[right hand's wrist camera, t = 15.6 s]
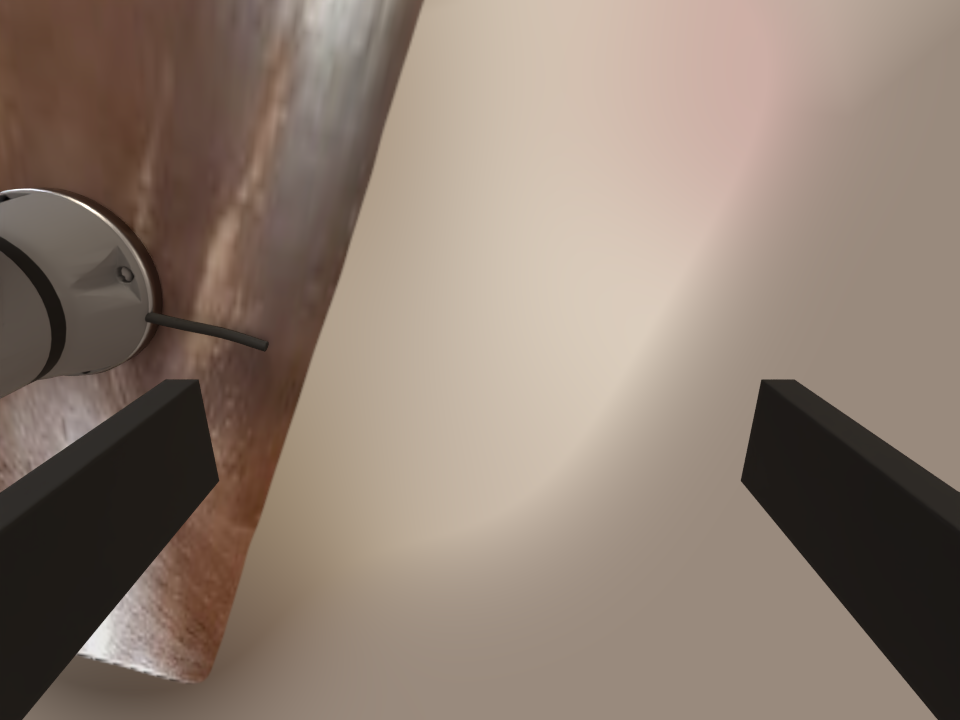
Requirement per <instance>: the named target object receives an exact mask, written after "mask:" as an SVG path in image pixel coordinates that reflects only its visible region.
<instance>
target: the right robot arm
mask: <svg viewBox="0 0 960 720" xmlns="http://www.w3.org/2000/svg"><path fill="white" fill-rule="evenodd" d="M161 312H162V291H161V285H160V281H159V277H158V274H157V271H156V268H155V266H154V263H153V261H152V259H151V257H150V255H149V253H148V252H147V250H146V248H145V247H144V245H143V244H142V242H141V241H140V240H139V238H138V237H137V236H136V235H135V233H134V232H133V231H132V230H131V229H130V228H129V227H128V226H127V225H126V224H125V223H124V222H123V221H122V220H121V219H120V218H119V217H117V216H116V215H115V214H113V213H112V212H111V211H109V210H108V209H106V208H105V207H103V206H102V205H100V204H98V203H97V202H95V201H93V200H91V199H89V198H86V197H84V196H82V195H79V194H76V193H73V192H69V191H65V190H60V189H54V188H28V189H13V190H7V191H3V192H0V398H2V397H4V396H6V395H8V394H10V393H12V392H14V391H16V390H18V389H20V388H22V387H24V386H26V385H28V384H30V383H32V382H34V381H36V380H41V379H48V378H53V377H57V376H80V375H91V374H97V373H101V372H104V371H107V370H110V369H112V368H114V367H116V366H118V365H120V364H122V363H124V362H125V361H127V360H129V359H131V358H132V357H134V356H136V355H137V354H138V353H139V352H141V351H142V350H143V349H144V348H145V347H146V346H147V345H148V343H149V342H150V341H151V339H152V338H153V336H154V334H155V332H156V330H157V328H158V325H162V326H167V327H171V328H176V329H180V330H185V331H190V332H195V333H200V334H205V335H210V336H215V337H219V338H223V339H227V340H230V341H234V342H237V343H240V344H243V345H246V346H249V347H252V348H255V349H258V350H262V351H266V350H267V348H268V342H267V341H264V340H261V339H258V338H255V337H252V336H249V335H246V334H242V333H239V332H236V331H232V330H229V329H225V328H221V327H217V326H213V325H208V324H203V323H198V322H193V321H188V320H184V319H179V318H175V317H170V316H166V315H162V314H161ZM218 482H219V477H218V473H217V468H216V463H215V458H214V453H213V448H212V443H211V438H210V433H209V429H208V424H207V419H206V414H205V409H204V404H203V399H202V394H201V389H200V384H199V380H164V381H163V382H161V383H160V384H158V385H157V386H156V387H154V388H153V389H151V390H150V391H148V392H147V393H145V394H144V395H142V396H141V397H139V398H138V399H137V400H135V401H134V402H132V403H131V404H129V405H128V406H126V407H125V408H123V409H122V410H120V411H119V412H118V413H116V414H115V415H113V416H112V417H110V418H109V419H107V420H106V421H104V422H103V423H101V424H100V425H99V426H97V427H96V428H94V429H93V430H91V431H90V432H88V433H87V434H85V435H84V436H82V437H81V438H80V439H78V440H77V441H75V442H74V443H72V444H71V445H69V446H68V447H66V448H65V449H63V450H62V451H61V452H59V453H58V454H56V455H55V456H53V457H52V458H50V459H49V460H47V461H46V462H44V463H43V464H42V465H40V466H39V467H37V468H36V469H34V470H33V471H31V472H30V473H28V474H27V475H26V476H24V477H23V478H21V479H20V480H18V481H17V482H15V483H14V484H12V485H11V486H9V487H8V488H7V489H5V490H4V491H2V492H1V493H0V720H22V719H23V718H24V717H25V716H26V714H27V713H28V712H29V711H30V710H31V708H32V707H33V706H34V705H35V703H36V702H37V701H38V700H39V699H40V697H41V696H42V695H43V694H44V693H45V691H46V690H47V689H48V688H49V687H50V685H51V684H52V683H53V682H54V681H55V679H56V678H57V677H58V676H59V674H60V673H61V672H62V671H63V670H64V668H65V667H66V666H67V665H68V664H69V662H70V661H71V660H72V659H73V657H74V656H75V655H76V654H77V653H78V651H79V650H80V649H81V648H82V647H83V645H84V644H85V643H86V642H87V640H88V639H89V638H90V637H91V636H92V634H93V633H94V632H95V631H96V630H97V628H98V627H99V626H100V625H101V624H102V622H103V621H104V620H105V619H106V617H107V616H108V615H109V614H110V613H111V611H112V610H113V609H114V608H115V607H116V605H117V604H118V603H119V602H120V600H121V599H122V598H123V597H124V596H125V594H126V593H127V592H128V591H129V590H130V588H131V587H132V586H133V585H134V583H135V582H136V581H137V580H138V579H139V577H140V576H141V575H142V574H143V573H144V571H145V570H146V569H147V568H148V567H149V565H150V564H151V563H152V562H153V560H154V559H155V558H156V557H157V556H158V554H159V553H160V552H161V551H162V550H163V548H164V547H165V546H166V545H167V543H168V542H169V541H170V540H171V539H172V537H173V536H174V535H175V534H176V533H177V531H178V530H179V529H180V528H181V526H182V525H183V524H184V523H185V522H186V520H187V519H188V518H189V517H190V516H191V514H192V513H193V512H194V511H195V509H196V508H197V507H198V506H199V505H200V503H201V502H202V501H203V500H204V499H205V497H206V496H207V495H208V494H209V493H210V491H211V490H212V489H213V488H214V486H215V485H216V484H217V483H218ZM741 482H742V483H743V484H744V485H745V486H746V488H747V489H748V490H749V491H750V493H751V494H752V495H753V496H754V497H755V499H756V500H757V501H758V502H759V503H760V505H761V506H762V507H763V508H764V509H765V511H766V512H767V513H768V514H769V516H770V517H771V518H772V519H773V520H774V522H775V523H776V524H777V525H778V526H779V528H780V529H781V530H782V531H783V533H784V534H785V535H786V536H787V537H788V539H789V540H790V541H791V542H792V543H793V545H794V546H795V547H796V548H797V550H798V551H799V552H800V553H801V554H802V556H803V557H804V558H805V559H806V560H807V562H808V563H809V564H810V565H811V567H812V568H813V569H814V570H815V571H816V573H817V574H818V575H819V576H820V577H821V579H822V580H823V581H824V582H825V583H826V585H827V586H828V587H829V588H830V590H831V591H832V592H833V593H834V594H835V596H836V597H837V598H838V599H839V600H840V602H841V603H842V604H843V605H844V607H845V608H846V609H847V610H848V611H849V612H850V614H851V615H852V616H853V617H854V619H855V620H856V621H857V622H858V623H859V625H860V626H861V627H862V628H863V630H864V631H865V632H866V633H867V634H868V636H869V637H870V638H871V639H872V640H873V642H874V643H875V644H876V645H877V647H878V648H879V649H880V650H881V651H882V653H883V654H884V655H885V656H886V657H887V659H888V660H889V661H890V662H891V664H892V665H893V666H894V667H895V668H896V670H897V671H898V672H899V673H900V674H901V676H902V677H903V678H904V679H905V680H906V682H907V683H908V684H909V685H910V687H911V688H912V689H913V690H914V691H915V693H916V694H917V695H918V696H919V697H920V699H921V700H922V701H923V702H924V704H925V705H926V706H927V707H928V708H929V710H930V711H931V712H932V713H933V714H934V716H935V717H936V718H937V719H938V720H960V492H958V491H956V490H955V489H953V488H952V487H951V486H949V485H948V484H946V483H945V482H943V481H942V480H940V479H939V478H937V477H936V476H934V475H933V474H932V473H930V472H929V471H927V470H926V469H924V468H923V467H921V466H920V465H918V464H917V463H915V462H914V461H913V460H911V459H910V458H908V457H907V456H905V455H904V454H902V453H901V452H899V451H898V450H897V449H895V448H894V447H892V446H891V445H889V444H888V443H886V442H885V441H883V440H882V439H880V438H879V437H877V436H876V435H875V434H873V433H872V432H870V431H869V430H867V429H866V428H864V427H863V426H861V425H860V424H859V423H857V422H856V421H854V420H853V419H851V418H850V417H848V416H847V415H845V414H844V413H842V412H841V411H839V410H838V409H837V408H835V407H834V406H832V405H831V404H829V403H828V402H826V401H825V400H823V399H822V398H821V397H819V396H817V395H816V394H815V393H813V392H812V391H810V390H809V389H807V388H806V387H804V386H803V385H802V384H800V383H799V382H797V381H796V380H761V384H760V389H759V394H758V399H757V404H756V409H755V414H754V419H753V424H752V429H751V433H750V438H749V443H748V448H747V453H746V458H745V463H744V468H743V473H742V478H741Z"/></svg>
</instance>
